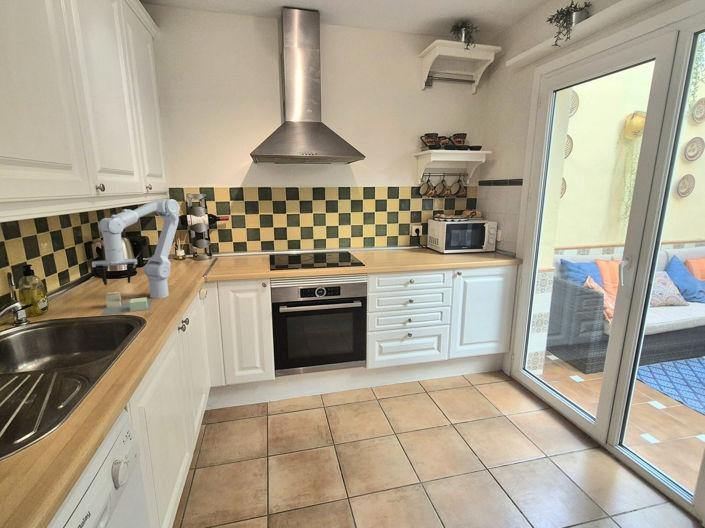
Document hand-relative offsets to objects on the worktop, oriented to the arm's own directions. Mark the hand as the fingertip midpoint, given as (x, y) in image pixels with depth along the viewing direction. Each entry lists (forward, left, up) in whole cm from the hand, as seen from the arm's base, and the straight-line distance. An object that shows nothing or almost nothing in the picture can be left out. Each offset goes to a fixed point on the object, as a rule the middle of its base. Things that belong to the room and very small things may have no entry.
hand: (117, 283), depth 137 cm
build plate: (+1, +3, -10) cm, 11 cm away
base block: (+5, +7, -10) cm, 13 cm away
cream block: (-3, -2, -10) cm, 10 cm away
